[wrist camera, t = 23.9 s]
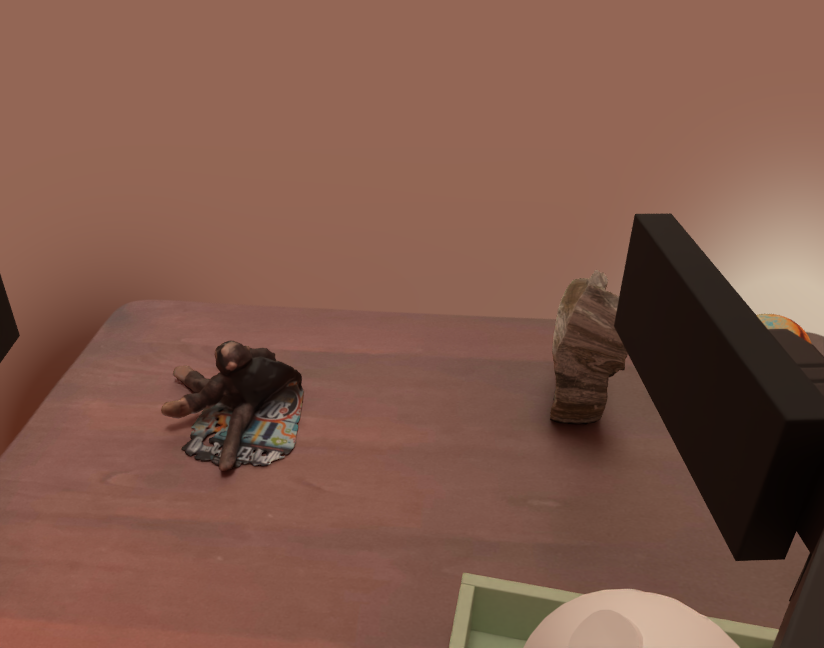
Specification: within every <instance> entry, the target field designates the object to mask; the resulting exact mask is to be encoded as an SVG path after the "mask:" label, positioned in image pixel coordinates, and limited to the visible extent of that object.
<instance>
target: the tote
mask: <svg viewBox="0 0 824 648" xmlns="http://www.w3.org/2000/svg"><path fill="white" fill-rule="evenodd" d="M581 595H585V594H579V593H574V592H568V591H563V590H557V589H552V588H546V587H541V586H535V585H530V584H524V583H519V582H513V581H508V580H502V579H497V578H491V577H486V576H480V575H475V574H469V573H463V575H462V581H461V586H460V591H459V596H458V602H457V607H456V612H455V617H454V623H453V628H452V633H451V638H450V644H449V648H523V647H524V645H525V643H526V642H527V640H528V638H529V637H530V635H531V634H532V632H533V631H534V630H535V629H536V628H537V627H538V625H539V624H540V623H541V622H542V621H543V620H544V618H545V617H547V616H548V615H549V614H551V613H552V612H553V611H554V610H556V609H557V608H558V607H560V606H561V605H562V604H564V603H567V602H569V601H571V600H573V599H575V598H577V597H579V596H581ZM705 617H706V616H705ZM707 618H708V619H710V620H711V621H713V622H714V623H715V624H717V625H718V626H719V627H720V628H721V629H722V630H723V631H724V632H725V633H726V634H727V635H728V636H729V637H730V638H731V639H732V640H733V641H734V642H735V643H736V644H737V645H738V646H739V647H740V648H772V646H773V644H774V641H775V639H776V636H777V634H778V631H779V630H778V629H773V628H767V627H762V626H756V625H751V624H745V623H740V622H734V621H729V620H723V619H718V618H712V617H707Z"/></svg>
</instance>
